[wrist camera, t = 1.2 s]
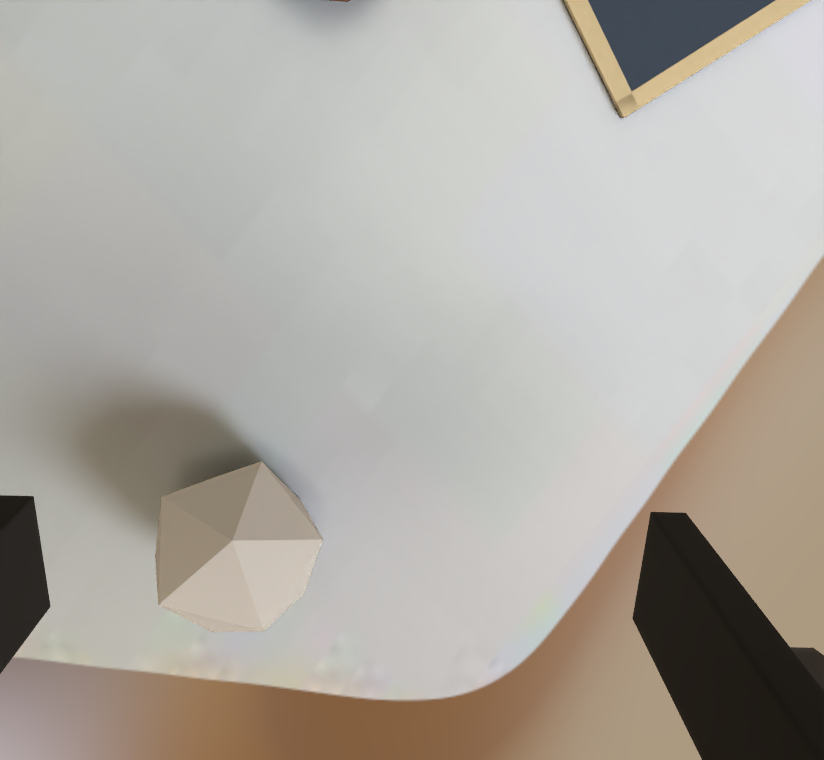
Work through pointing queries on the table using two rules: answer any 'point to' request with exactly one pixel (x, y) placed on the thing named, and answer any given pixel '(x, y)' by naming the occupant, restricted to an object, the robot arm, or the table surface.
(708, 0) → the framed chalkboard
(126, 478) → the table surface
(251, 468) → the die
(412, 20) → the table surface
